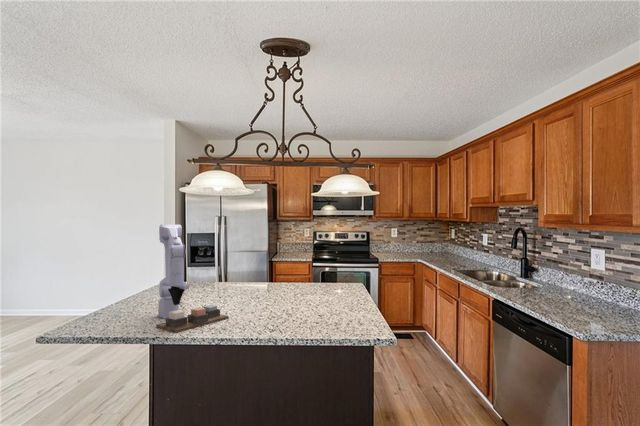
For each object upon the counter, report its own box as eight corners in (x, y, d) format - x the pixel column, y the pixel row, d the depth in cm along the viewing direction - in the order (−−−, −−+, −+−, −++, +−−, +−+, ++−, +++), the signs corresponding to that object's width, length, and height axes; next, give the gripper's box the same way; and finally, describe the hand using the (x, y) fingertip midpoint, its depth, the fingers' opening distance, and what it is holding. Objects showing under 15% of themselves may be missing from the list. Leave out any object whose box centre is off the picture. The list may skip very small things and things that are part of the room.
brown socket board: (156, 326, 164) (156, 317, 164) (209, 313, 187) (209, 305, 187) (175, 332, 156) (175, 323, 156) (228, 318, 179) (228, 309, 179)
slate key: (203, 313, 179) (203, 306, 179) (211, 312, 182) (211, 304, 182) (209, 315, 176) (209, 307, 176) (217, 313, 180) (217, 306, 180)
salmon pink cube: (191, 317, 170) (191, 309, 170) (199, 314, 173) (199, 307, 173) (197, 318, 167) (197, 310, 167) (205, 316, 171) (205, 308, 171)
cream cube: (168, 320, 164) (168, 312, 164) (177, 318, 168) (177, 310, 168) (174, 322, 161) (174, 313, 161) (183, 319, 165) (184, 311, 165)
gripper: (158, 272, 166) (158, 303, 165) (178, 275, 157) (178, 308, 157) (173, 270, 171) (172, 301, 171) (193, 273, 163) (193, 305, 163)
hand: (176, 304), depth 165 cm, fingers closed
